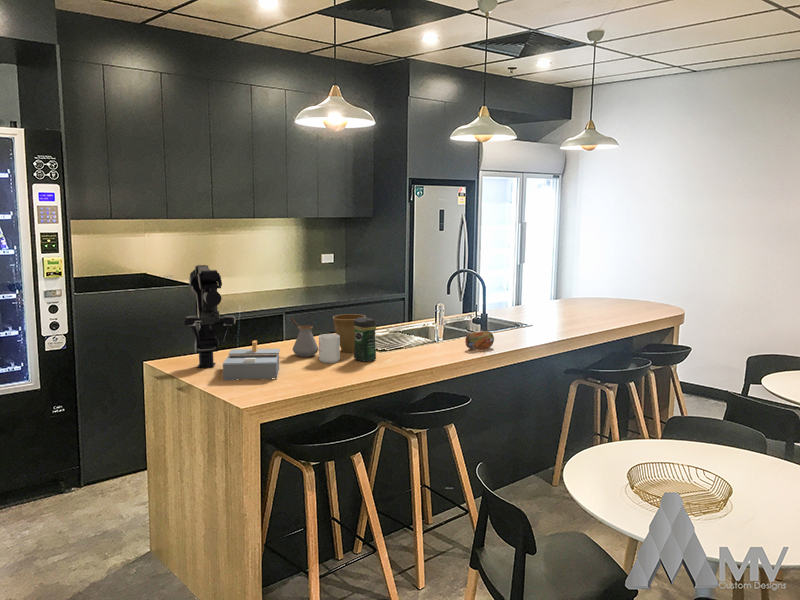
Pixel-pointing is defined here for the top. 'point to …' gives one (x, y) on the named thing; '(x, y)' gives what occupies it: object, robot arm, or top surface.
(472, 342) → the tin
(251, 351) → the lid
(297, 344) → the coffee pot
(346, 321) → the plant pot
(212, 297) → the robot arm
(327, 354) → the mug
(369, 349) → the coffee jar
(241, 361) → the lid
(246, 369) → the carton
